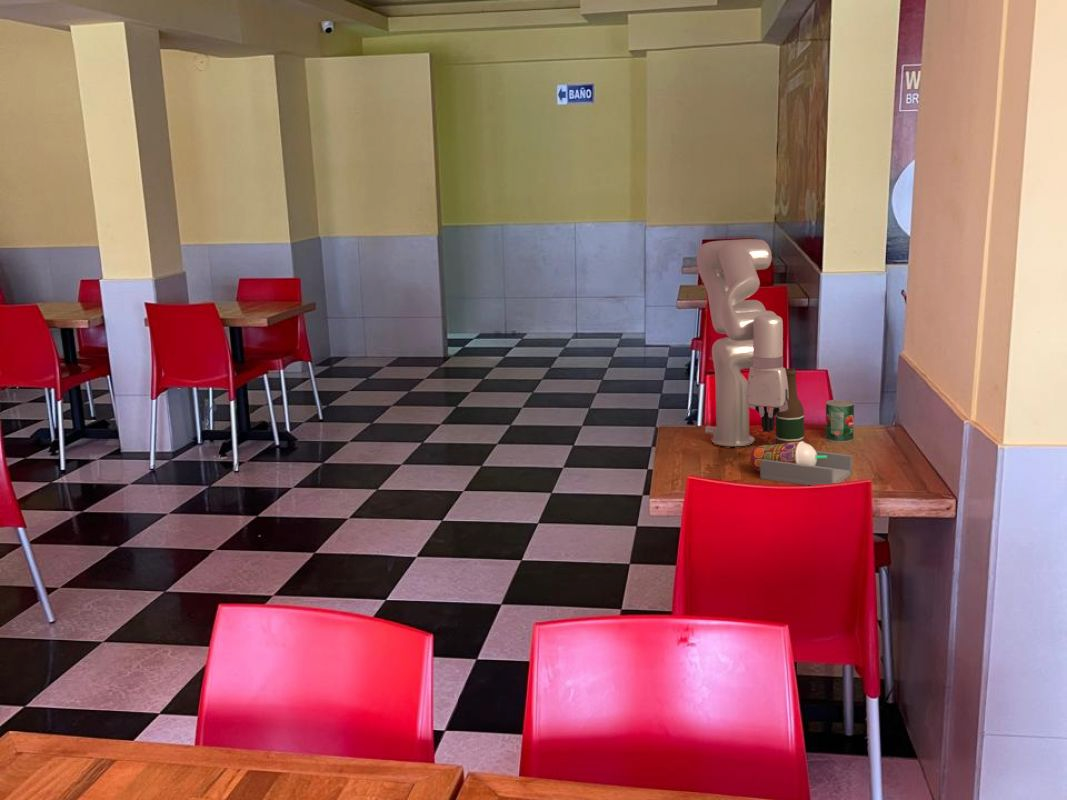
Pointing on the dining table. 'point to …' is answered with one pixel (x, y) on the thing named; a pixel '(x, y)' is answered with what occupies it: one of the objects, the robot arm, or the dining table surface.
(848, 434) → the canned tomato
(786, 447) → the smoothie
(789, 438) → the beer bottle
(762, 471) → the cradle
